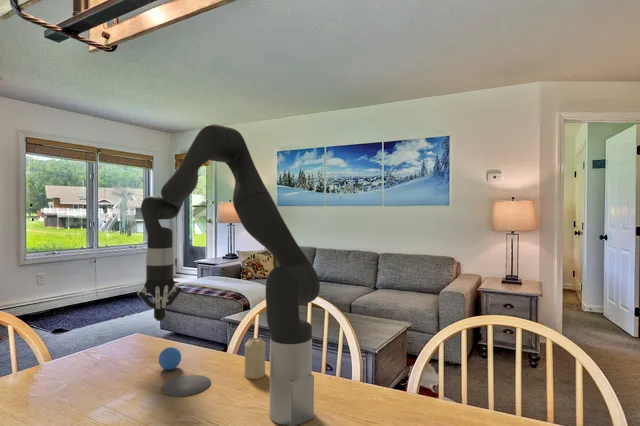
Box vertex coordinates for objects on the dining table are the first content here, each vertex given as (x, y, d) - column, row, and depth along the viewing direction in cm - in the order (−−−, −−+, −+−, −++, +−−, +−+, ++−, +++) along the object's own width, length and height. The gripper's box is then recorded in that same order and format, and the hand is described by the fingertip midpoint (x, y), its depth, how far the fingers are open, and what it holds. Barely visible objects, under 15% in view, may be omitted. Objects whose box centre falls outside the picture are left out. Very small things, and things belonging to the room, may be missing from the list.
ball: (184, 369, 111) (184, 348, 111) (162, 375, 107) (162, 353, 107) (177, 363, 116) (177, 342, 116) (155, 368, 112) (155, 347, 112)
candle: (267, 371, 111) (267, 335, 110) (262, 379, 105) (262, 342, 105) (247, 370, 111) (248, 335, 111) (242, 378, 106) (242, 341, 105)
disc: (218, 387, 100) (218, 386, 100) (170, 401, 93) (170, 400, 93) (200, 371, 110) (200, 371, 110) (155, 383, 102) (155, 382, 102)
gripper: (139, 266, 111) (139, 327, 112) (186, 262, 120) (185, 319, 120) (132, 262, 117) (132, 320, 118) (177, 259, 126) (177, 313, 126)
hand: (159, 320), depth 119 cm, fingers closed
